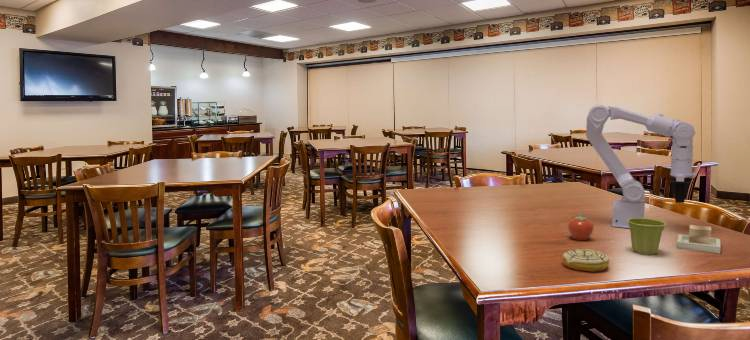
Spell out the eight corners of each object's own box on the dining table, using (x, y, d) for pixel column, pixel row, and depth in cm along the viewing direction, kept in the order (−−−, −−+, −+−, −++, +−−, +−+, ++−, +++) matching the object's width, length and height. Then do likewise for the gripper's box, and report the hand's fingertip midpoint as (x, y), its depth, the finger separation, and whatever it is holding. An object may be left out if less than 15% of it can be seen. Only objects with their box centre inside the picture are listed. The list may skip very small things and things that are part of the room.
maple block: (688, 245, 131) (689, 228, 130) (689, 241, 135) (690, 224, 134) (710, 247, 128) (711, 230, 127) (709, 243, 132) (711, 226, 131)
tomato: (570, 234, 147) (570, 210, 146) (595, 237, 143) (596, 212, 142) (564, 239, 141) (565, 214, 140) (590, 243, 137) (591, 217, 136)
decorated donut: (561, 259, 123) (561, 245, 122) (605, 262, 119) (605, 248, 119) (563, 271, 113) (564, 256, 113) (611, 275, 110) (612, 260, 109)
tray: (676, 247, 130) (676, 241, 130) (678, 240, 138) (678, 234, 138) (720, 253, 125) (720, 247, 124) (719, 244, 133) (719, 238, 132)
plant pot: (659, 248, 130) (661, 218, 129) (668, 258, 121) (670, 226, 120) (623, 246, 133) (624, 217, 132) (629, 255, 124) (630, 224, 123)
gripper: (696, 161, 139) (694, 205, 141) (697, 157, 151) (695, 198, 152) (669, 161, 144) (667, 203, 145) (672, 157, 155) (670, 196, 157)
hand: (680, 200), depth 149 cm, fingers open, 7 cm apart
